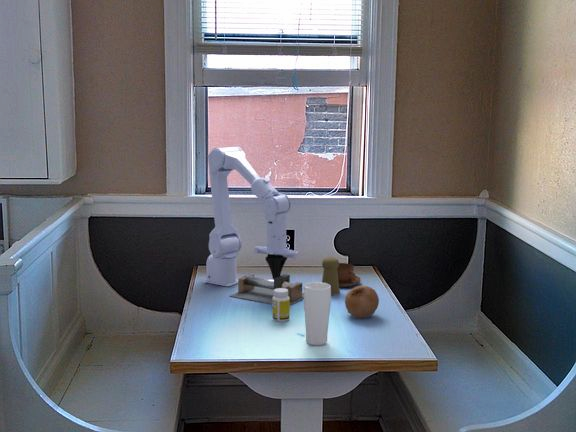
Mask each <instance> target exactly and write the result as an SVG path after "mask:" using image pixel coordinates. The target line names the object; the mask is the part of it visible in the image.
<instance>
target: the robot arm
mask: <svg viewBox="0 0 576 432" xmlns="http://www.w3.org/2000/svg"><path fill="white" fill-rule="evenodd" d="M246 156H247V155H246V153H245V152H244V151H243V149H242V148H241V147H240V146H238V145H237V146H235V145H234V146H231V147H230V146H229V147H215V148H214V147H213V148H212V149H211V151H210V152H209V154H208V155H207V161H208V169H209V171H208V172H209V173H208V174H209V182H210V190H211V191H210V192H211V200H212V202H211V203H212V208H213V217H214V228H213V229H212V230H211V232H210V233H209V237H208V238H209V240H208V250H209V252H210V253H209V254H210V255H209V256H208V257H207V259H206V265H205V266H206V267H205V268H206V269H205V270H206V274H205V275H206V276H205V277H206V280H205V281H204V282H205V283H207V284H212V285H218V286H223V287H231V286H234V285H236V284H238V279H239V278H237V273H238V271H237V267H238V266H237V256H238V255H239V252H240V251H241V250H242V247H243V245H242V243H243V241H242V239H241V236H240V233H239V229H238V228H236V227H235V226H234V225H233V221H232V213H231V212H232V211H231V203H230V195H229V184H228V183H229V182H228V176H229V175H230V173H231V172H233V170H236V171H237V172H238V173H239V175H240V176H242V177H243V178H244V179H245V180H246V181H247V182H248V183H249V184H250V190H251V192H252V193H253V195H255V197H257V199H258V200H259V201H260V202H261V203H262V209H263V212H264V213H265V220H266V224H267V225H266V246H263V245H262V246H261V245H260V246H259V245H257V246H254V254H262V255H266V257H265V261H266V263H267V265H268V267H269V270H270V272H271V276H272V280H274V278H276V277H278V276H281V275H282V271H283V268H284V265H285V263H286V261H287V260H288V258H289V259H293V260H297V259H299V258H300V251H297V250H293V249H289V248H287V213H289V211H290V209H291V200H290V198H289V196H288V195H287V194H285V193H281V192H279V191H278V190H277V189H276V188H275V187H274V186H273V185H272V183H270V180H269V179H268V178H265V177H260V176H259V174H258V173H257V171H255V168H253V166H252V165H251V164H250V163H249V161H248V160H247V158H246Z"/></svg>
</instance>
